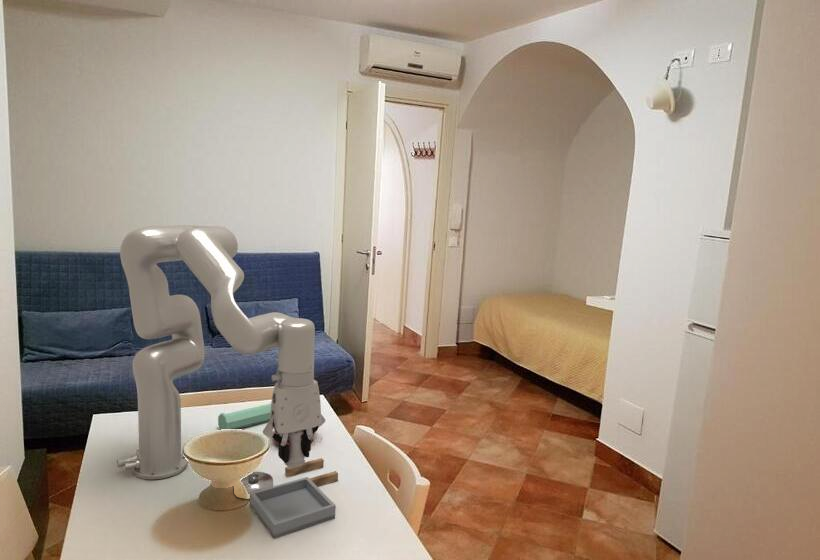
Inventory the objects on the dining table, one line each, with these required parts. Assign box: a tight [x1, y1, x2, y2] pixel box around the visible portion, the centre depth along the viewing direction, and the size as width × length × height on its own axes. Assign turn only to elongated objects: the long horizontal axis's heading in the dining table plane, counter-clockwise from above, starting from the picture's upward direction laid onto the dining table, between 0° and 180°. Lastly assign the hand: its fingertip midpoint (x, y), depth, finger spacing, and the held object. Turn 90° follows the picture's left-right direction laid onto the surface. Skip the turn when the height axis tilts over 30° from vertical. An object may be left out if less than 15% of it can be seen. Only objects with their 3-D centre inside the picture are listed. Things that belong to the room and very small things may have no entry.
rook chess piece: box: [283, 431, 306, 468], centre depth 119 cm, size 4×4×8 cm
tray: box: [249, 476, 336, 539], centre depth 122 cm, size 14×14×3 cm
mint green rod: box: [217, 403, 271, 431], centre depth 167 cm, size 6×6×25 cm
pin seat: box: [284, 457, 339, 488], centre depth 136 cm, size 10×9×2 cm
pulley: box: [241, 471, 274, 494], centre depth 130 cm, size 9×9×3 cm
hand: (294, 456), depth 120 cm, fingers closed on rook chess piece, 4 cm apart
